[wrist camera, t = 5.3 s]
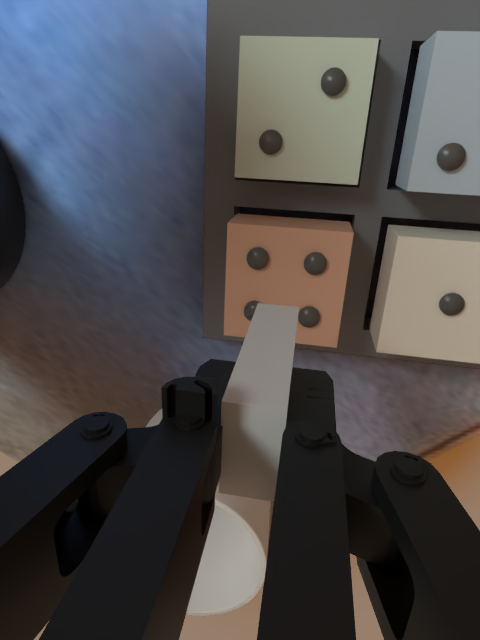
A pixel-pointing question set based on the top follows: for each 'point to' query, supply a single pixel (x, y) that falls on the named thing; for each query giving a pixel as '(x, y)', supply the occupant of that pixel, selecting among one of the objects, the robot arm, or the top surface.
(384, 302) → the tile
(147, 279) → the top surface
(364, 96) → the tile
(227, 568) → the mug
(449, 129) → the tile
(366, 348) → the keypad board
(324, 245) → the tile
